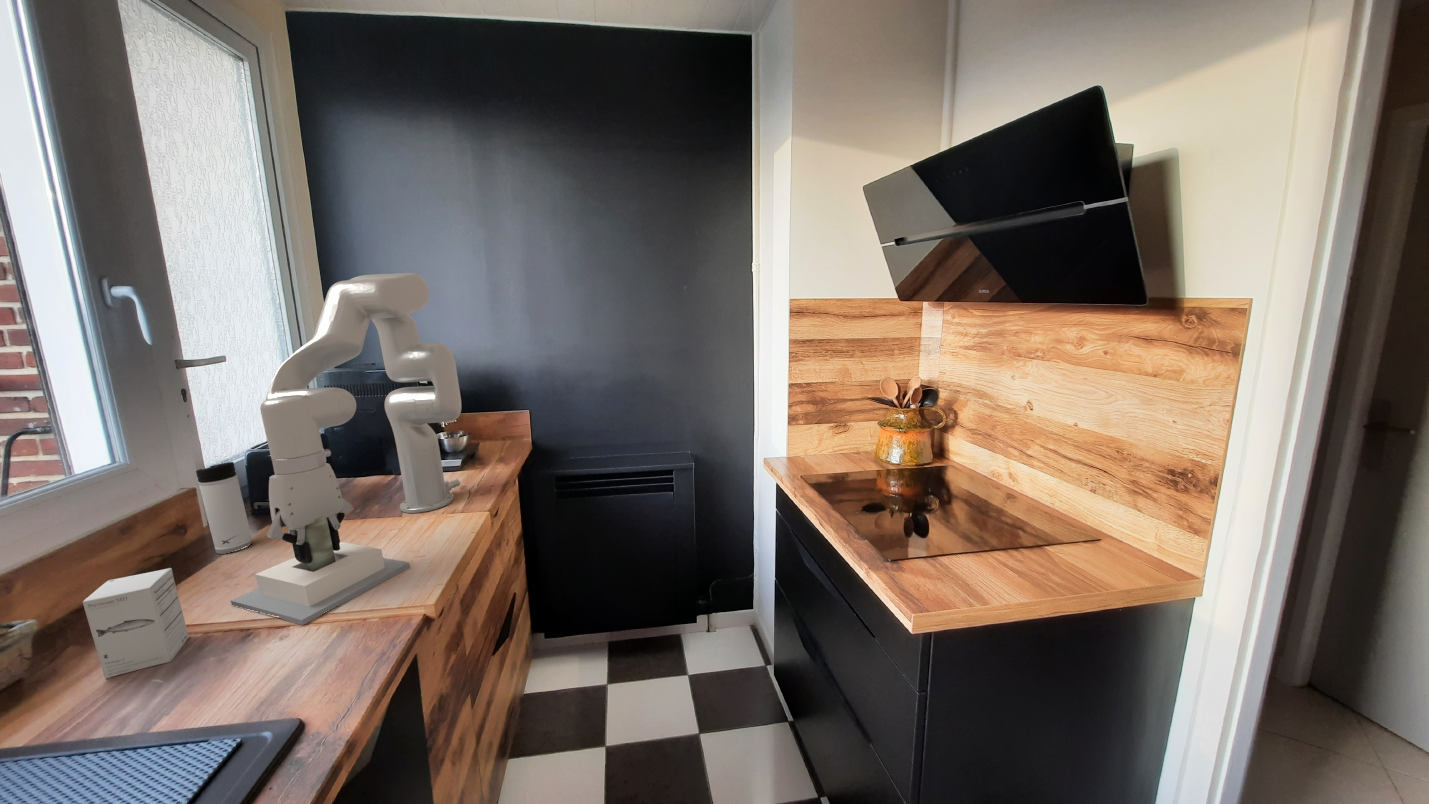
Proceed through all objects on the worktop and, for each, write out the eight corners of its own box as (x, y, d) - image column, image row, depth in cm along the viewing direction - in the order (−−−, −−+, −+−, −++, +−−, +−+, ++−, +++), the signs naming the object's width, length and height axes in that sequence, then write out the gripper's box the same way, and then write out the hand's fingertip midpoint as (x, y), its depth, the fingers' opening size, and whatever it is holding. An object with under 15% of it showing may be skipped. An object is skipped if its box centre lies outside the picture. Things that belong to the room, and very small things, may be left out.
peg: (328, 568, 103) (316, 511, 100) (343, 571, 101) (331, 513, 99) (304, 579, 99) (290, 520, 96) (319, 583, 97) (306, 522, 95)
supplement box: (103, 681, 76) (78, 602, 74) (129, 652, 83) (107, 578, 80) (171, 663, 79) (149, 586, 77) (191, 636, 86) (172, 565, 83)
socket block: (343, 554, 113) (339, 532, 112) (410, 567, 106) (405, 544, 105) (231, 605, 95) (225, 580, 94) (302, 625, 87) (296, 598, 86)
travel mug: (232, 555, 115) (210, 468, 111) (208, 553, 117) (186, 468, 113) (261, 542, 121) (241, 459, 117) (238, 541, 123) (218, 459, 119)
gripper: (333, 449, 105) (350, 534, 108) (232, 476, 89) (255, 575, 93) (359, 451, 102) (375, 538, 105) (259, 480, 86) (282, 581, 90)
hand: (319, 554), depth 99 cm, fingers closed on peg, 4 cm apart
